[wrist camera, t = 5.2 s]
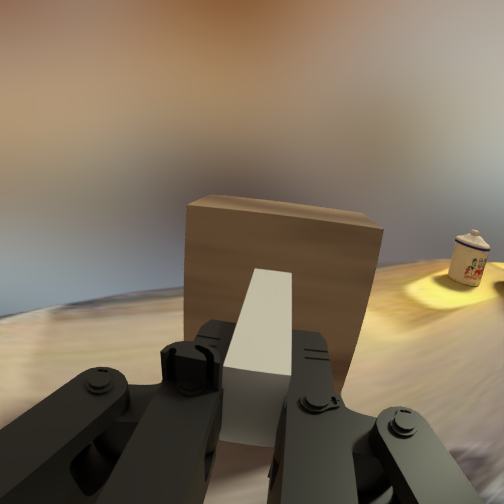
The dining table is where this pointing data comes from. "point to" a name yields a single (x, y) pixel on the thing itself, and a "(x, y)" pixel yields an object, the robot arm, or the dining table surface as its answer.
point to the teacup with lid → (469, 259)
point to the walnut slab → (282, 266)
